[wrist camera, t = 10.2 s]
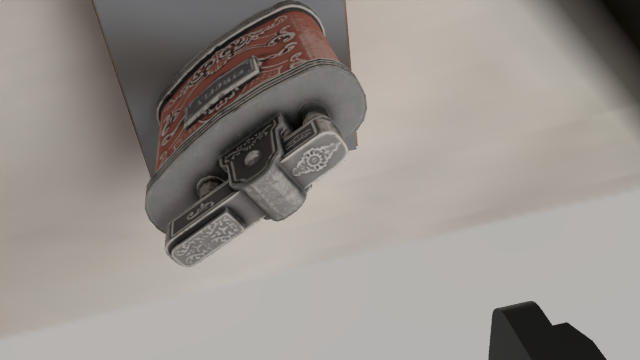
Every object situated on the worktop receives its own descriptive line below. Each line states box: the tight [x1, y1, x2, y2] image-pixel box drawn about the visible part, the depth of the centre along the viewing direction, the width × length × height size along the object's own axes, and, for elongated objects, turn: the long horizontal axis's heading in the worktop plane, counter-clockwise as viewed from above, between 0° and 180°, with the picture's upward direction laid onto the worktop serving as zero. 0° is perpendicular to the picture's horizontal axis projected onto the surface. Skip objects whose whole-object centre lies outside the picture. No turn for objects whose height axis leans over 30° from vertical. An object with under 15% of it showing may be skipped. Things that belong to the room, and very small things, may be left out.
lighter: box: [145, 0, 367, 267], centre depth 20 cm, size 8×3×10 cm, turn 125°
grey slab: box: [92, 0, 358, 177], centre depth 26 cm, size 10×10×5 cm
